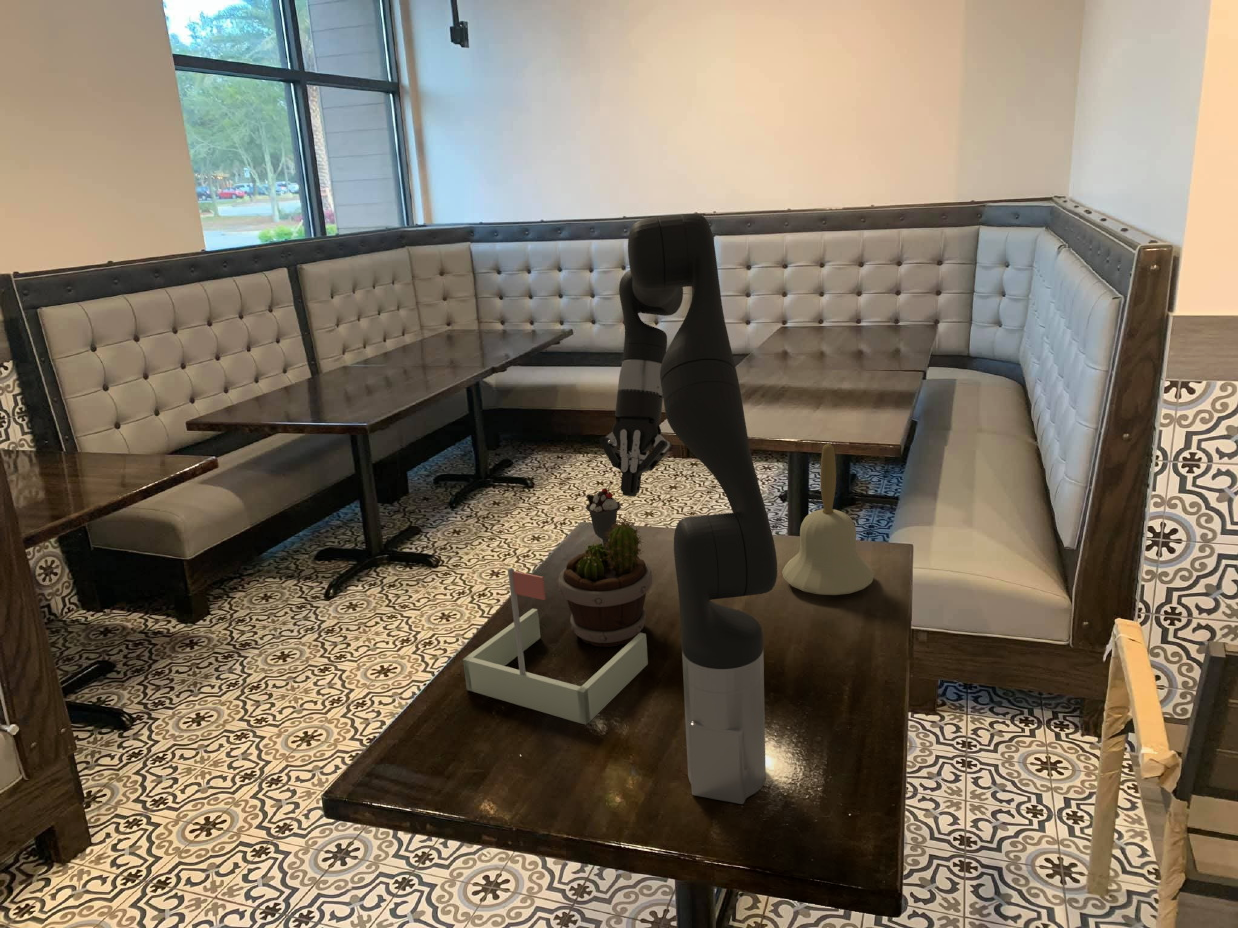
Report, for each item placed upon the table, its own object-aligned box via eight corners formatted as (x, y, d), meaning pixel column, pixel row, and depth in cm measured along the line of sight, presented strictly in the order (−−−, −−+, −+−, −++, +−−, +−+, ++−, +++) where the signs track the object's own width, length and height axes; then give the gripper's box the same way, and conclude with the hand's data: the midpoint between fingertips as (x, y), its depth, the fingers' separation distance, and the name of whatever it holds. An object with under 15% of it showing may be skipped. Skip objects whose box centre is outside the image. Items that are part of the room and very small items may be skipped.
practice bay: (535, 636, 143) (522, 515, 137) (647, 663, 133) (639, 534, 127) (466, 689, 130) (448, 557, 123) (586, 724, 119) (573, 582, 113)
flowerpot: (551, 653, 138) (539, 533, 132) (579, 607, 152) (569, 497, 146) (644, 659, 134) (635, 536, 128) (663, 612, 149) (656, 498, 142)
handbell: (767, 592, 153) (765, 452, 145) (802, 558, 165) (801, 427, 157) (856, 610, 145) (858, 463, 137) (886, 573, 156) (889, 436, 149)
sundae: (629, 557, 170) (624, 483, 166) (596, 565, 168) (590, 489, 164) (617, 545, 176) (611, 473, 172) (584, 552, 174) (578, 479, 169)
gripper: (594, 386, 148) (583, 491, 147) (666, 388, 141) (654, 498, 140) (617, 393, 154) (606, 494, 153) (686, 395, 147) (675, 501, 147)
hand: (629, 496), depth 147 cm, fingers closed
